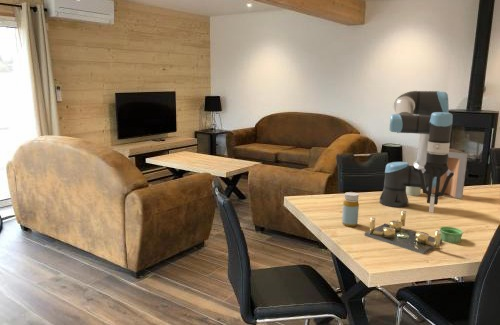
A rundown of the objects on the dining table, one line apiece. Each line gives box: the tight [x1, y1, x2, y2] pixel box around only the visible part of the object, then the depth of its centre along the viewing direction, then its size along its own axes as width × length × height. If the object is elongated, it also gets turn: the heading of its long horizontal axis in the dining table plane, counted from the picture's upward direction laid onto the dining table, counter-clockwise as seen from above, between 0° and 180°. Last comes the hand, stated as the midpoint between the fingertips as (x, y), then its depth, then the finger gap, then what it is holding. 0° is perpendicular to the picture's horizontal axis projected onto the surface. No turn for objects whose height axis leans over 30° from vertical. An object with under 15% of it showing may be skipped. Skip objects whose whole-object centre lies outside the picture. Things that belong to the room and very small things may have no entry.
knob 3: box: [415, 230, 441, 249], centre depth 160 cm, size 11×5×7 cm, turn 29°
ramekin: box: [439, 226, 464, 244], centre depth 169 cm, size 9×9×4 cm
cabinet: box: [426, 148, 469, 200], centre depth 238 cm, size 21×10×28 cm, turn 47°
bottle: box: [341, 191, 360, 228], centre depth 184 cm, size 7×7×15 cm
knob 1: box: [368, 217, 395, 238], centre depth 169 cm, size 10×5×7 cm, turn 63°
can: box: [406, 186, 422, 197], centre depth 240 cm, size 9×9×12 cm
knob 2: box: [389, 210, 407, 231], centre depth 177 cm, size 10×5×7 cm, turn 133°
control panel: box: [364, 223, 443, 255], centre depth 169 cm, size 26×18×2 cm
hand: (431, 211), depth 155 cm, fingers closed
